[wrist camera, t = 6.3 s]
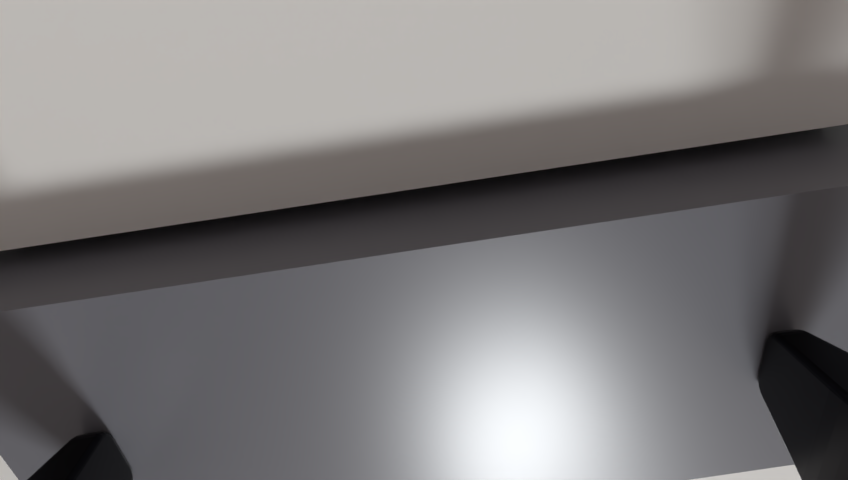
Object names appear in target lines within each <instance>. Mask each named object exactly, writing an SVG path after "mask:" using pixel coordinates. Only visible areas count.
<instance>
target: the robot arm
mask: <svg viewBox="0 0 848 480" xmlns="http://www.w3.org/2000/svg"><path fill="white" fill-rule="evenodd" d="M758 385H759V389H760V393H761V395H762V397H763V399H764V401H765V404H766V406H767V408H768V410H769V412H770V414H771V416H772V418H773V420H774V423H775V425H776V427H777V429H778V431H779V433H780V435H781V437H782V439H783V442H784V444H785V446H786V448H787V450H788V452H789V454H790V456H791V458H792V461H793V463H794V465H795V467H796V469H797V471H798V473H799V475H800V477H801V480H848V352H846V351H844V350H842V349H840V348H839V347H837V346H835V345H833V344H831V343H829V342H827V341H825V340H823V339H821V338H819V337H817V336H815V335H813V334H811V333H809V332H807V331H804V330H799V329H795V330H788V331H781V332H775V333H772V334H770V335H769V336H768V337H767V339H766V342H765V346H764V351H763V355H762V360H761V365H760V369H759V374H758ZM27 480H133V473H132V470H131V467H130V466H129V464H128V462H127V460H126V459H125V457H124V455H123V454H122V452H121V450H120V449H119V447H118V445H117V444H116V442H115V440H114V438H113V437H112V436H111V435H110V434H109V433H107V432H95V433H89V434H82V435H78V436H75V437H74V438H72V439H71V440H70V441H68V442H67V443H66V444H65V445H64V446H63V447H62V448H61V449H60V450H59V451H58V452H56V453H55V454H54V455H53V456H52V457H51V458H50V459H49V460H48V461H47V462H46V463H44V464H43V465H42V466H41V467H40V468H39V469H38V470H37V471H36V472H35V473H34V474H33V475H31V476H30V477H29V478H28V479H27Z"/></svg>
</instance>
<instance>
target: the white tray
mask: <svg viewBox="0 0 848 480" xmlns="http://www.w3.org/2000/svg"><path fill="white" fill-rule="evenodd" d="M845 124H848V0H0V251H3V250H10V249H17V248H23V247H30V246H37V245H43V244H50V243H57V242H63V241H70V240H77V239H84V238H90V237H97V236H104V235H110V234H117V233H124V232H130V231H137V230H144V229H150V228H157V227H164V226H170V225H177V224H184V223H190V222H197V221H204V220H210V219H217V218H224V217H231V216H237V215H244V214H251V213H257V212H264V211H271V210H277V209H284V208H291V207H297V206H304V205H311V204H317V203H324V202H331V201H337V200H344V199H351V198H357V197H364V196H371V195H378V194H384V193H391V192H398V191H404V190H411V189H418V188H424V187H431V186H438V185H444V184H451V183H458V182H464V181H471V180H478V179H484V178H491V177H498V176H504V175H511V174H518V173H524V172H531V171H538V170H545V169H551V168H558V167H565V166H571V165H578V164H585V163H591V162H598V161H605V160H611V159H618V158H625V157H631V156H638V155H645V154H651V153H658V152H665V151H671V150H678V149H685V148H692V147H698V146H705V145H712V144H718V143H725V142H732V141H738V140H745V139H752V138H758V137H765V136H772V135H778V134H785V133H792V132H798V131H805V130H812V129H818V128H825V127H832V126H839V125H845ZM0 480H18V478H17V477H16V476H15V474H14V473H13V472H12V470H11V469H10V468H9V466H8V465H7V464H6V462H5V461H4V460H3V458H2V457H1V456H0ZM691 480H801V477H800V475H799V473H798V471H797V469H796V467H795V465H788V466H781V467H774V468H767V469H761V470H754V471H747V472H740V473H733V474H726V475H719V476H712V477H705V478H698V479H691Z"/></svg>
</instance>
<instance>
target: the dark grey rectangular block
mask: <svg viewBox="0 0 848 480" xmlns="http://www.w3.org/2000/svg"><path fill="white" fill-rule="evenodd" d="M795 329H799V330H804V331H807V332H809V333H811V334H813V335H815V336H817V337H819V338H821V339H823V340H825V341H827V342H829V343H831V344H833V345H835V346H837V347H839V348H840V349H842V350H844V351H846V352H848V124H845V125H839V126H832V127H825V128H818V129H812V130H805V131H798V132H792V133H785V134H778V135H772V136H765V137H758V138H752V139H745V140H738V141H732V142H725V143H718V144H712V145H705V146H698V147H692V148H685V149H678V150H671V151H665V152H658V153H651V154H645V155H638V156H631V157H625V158H618V159H611V160H605V161H598V162H591V163H585V164H578V165H571V166H565V167H558V168H551V169H545V170H538V171H531V172H524V173H518V174H511V175H504V176H498V177H491V178H484V179H478V180H471V181H464V182H458V183H451V184H444V185H438V186H431V187H424V188H418V189H411V190H404V191H398V192H391V193H384V194H378V195H371V196H364V197H357V198H351V199H344V200H337V201H331V202H324V203H317V204H311V205H304V206H297V207H291V208H284V209H277V210H271V211H264V212H257V213H251V214H244V215H237V216H231V217H224V218H217V219H210V220H204V221H197V222H190V223H184V224H177V225H170V226H164V227H157V228H150V229H144V230H137V231H130V232H124V233H117V234H110V235H104V236H97V237H90V238H84V239H77V240H70V241H63V242H57V243H50V244H43V245H37V246H30V247H23V248H17V249H10V250H3V251H0V456H1V457H2V458H3V460H4V461H5V462H6V464H7V465H8V466H9V468H10V469H11V470H12V472H13V473H14V474H15V476H16V477H17V478H18V480H27V479H28V478H29V477H30V476H31V475H33V474H34V473H35V472H36V471H37V470H38V469H39V468H40V467H41V466H42V465H43V464H44V463H46V462H47V461H48V460H49V459H50V458H51V457H52V456H53V455H54V454H55V453H56V452H58V451H59V450H60V449H61V448H62V447H63V446H64V445H65V444H66V443H67V442H68V441H70V440H71V439H72V438H74V437H75V436H78V435H82V434H89V433H95V432H107V433H109V434H110V435H111V436H112V437H113V438H114V440H115V442H116V444H117V445H118V447H119V449H120V450H121V452H122V454H123V455H124V457H125V459H126V460H127V462H128V464H129V466H130V467H131V470H132V473H133V480H691V479H698V478H705V477H712V476H719V475H726V474H733V473H740V472H747V471H754V470H761V469H767V468H774V467H781V466H788V465H794V463H793V461H792V458H791V456H790V454H789V452H788V450H787V448H786V446H785V444H784V442H783V439H782V437H781V435H780V433H779V431H778V429H777V427H776V425H775V423H774V420H773V418H772V416H771V414H770V412H769V410H768V408H767V406H766V404H765V401H764V399H763V397H762V395H761V393H760V389H759V385H758V374H759V369H760V365H761V360H762V355H763V351H764V346H765V342H766V339H767V337H768V336H769V335H770V334H772V333H775V332H781V331H788V330H795Z"/></svg>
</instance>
